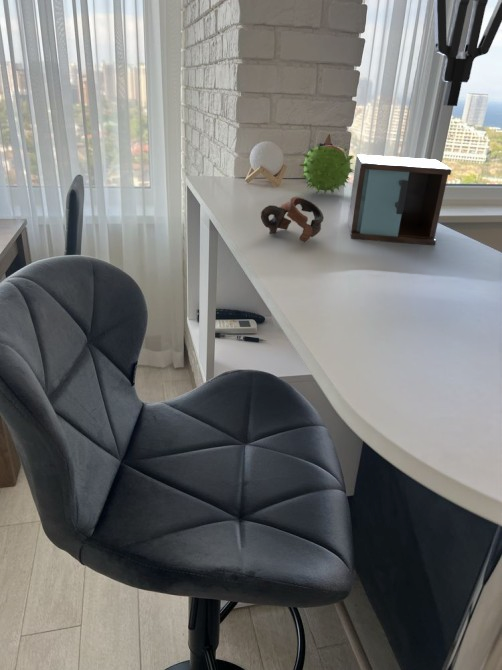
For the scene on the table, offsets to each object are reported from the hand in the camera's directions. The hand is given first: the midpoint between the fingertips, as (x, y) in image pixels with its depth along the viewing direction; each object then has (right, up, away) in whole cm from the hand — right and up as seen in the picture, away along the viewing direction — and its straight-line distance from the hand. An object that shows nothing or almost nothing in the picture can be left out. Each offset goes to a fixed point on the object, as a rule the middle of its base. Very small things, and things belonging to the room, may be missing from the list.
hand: (450, 105), depth 80 cm
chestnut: (-12, +2, +58) cm, 59 cm away
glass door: (-7, -18, +16) cm, 25 cm away
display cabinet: (-3, -15, +24) cm, 28 cm away
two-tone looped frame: (-25, -18, +17) cm, 35 cm away
